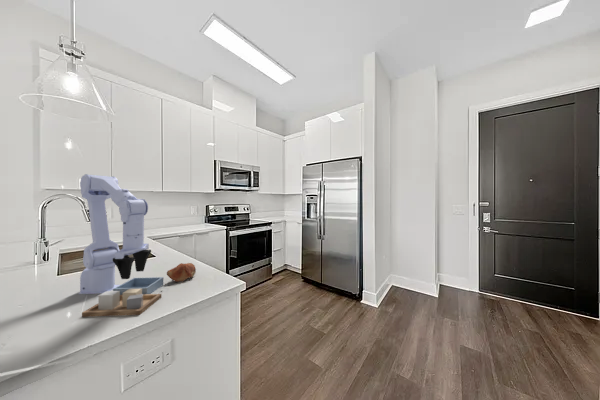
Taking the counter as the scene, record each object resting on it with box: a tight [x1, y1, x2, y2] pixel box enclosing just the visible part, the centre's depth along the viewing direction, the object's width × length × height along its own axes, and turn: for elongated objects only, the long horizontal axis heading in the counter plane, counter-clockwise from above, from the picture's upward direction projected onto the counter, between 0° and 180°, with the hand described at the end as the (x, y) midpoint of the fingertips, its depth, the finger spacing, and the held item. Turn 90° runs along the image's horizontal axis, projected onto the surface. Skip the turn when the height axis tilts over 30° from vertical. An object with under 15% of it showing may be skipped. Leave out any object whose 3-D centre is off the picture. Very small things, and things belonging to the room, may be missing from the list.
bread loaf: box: [166, 262, 197, 283], centre depth 97 cm, size 13×8×10 cm
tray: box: [81, 293, 162, 318], centre depth 72 cm, size 16×12×2 cm
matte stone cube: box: [127, 294, 143, 310], centre depth 70 cm, size 4×3×4 cm
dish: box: [112, 276, 164, 295], centre depth 84 cm, size 11×11×4 cm
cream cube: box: [122, 289, 142, 307], centre depth 73 cm, size 4×3×4 cm
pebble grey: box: [97, 290, 120, 310], centre depth 71 cm, size 4×3×4 cm
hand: (133, 274), depth 76 cm, fingers open, 7 cm apart
